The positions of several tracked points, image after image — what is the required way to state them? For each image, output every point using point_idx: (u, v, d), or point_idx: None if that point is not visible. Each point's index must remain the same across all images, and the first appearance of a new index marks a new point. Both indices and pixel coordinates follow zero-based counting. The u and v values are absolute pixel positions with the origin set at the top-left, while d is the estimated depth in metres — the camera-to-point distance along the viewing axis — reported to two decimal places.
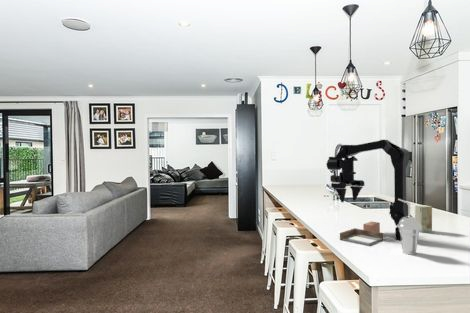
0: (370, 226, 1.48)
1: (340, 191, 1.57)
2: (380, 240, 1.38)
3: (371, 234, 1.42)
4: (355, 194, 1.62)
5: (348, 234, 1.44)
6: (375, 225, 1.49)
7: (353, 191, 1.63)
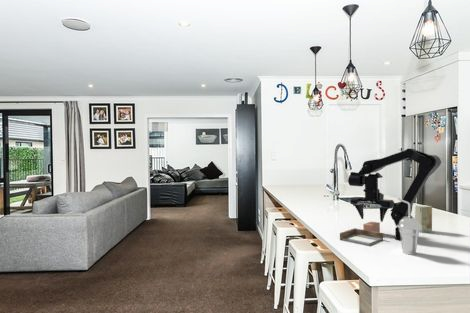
0: (370, 226, 1.48)
1: None
2: (380, 240, 1.38)
3: (371, 234, 1.42)
4: None
5: (348, 234, 1.44)
6: (375, 225, 1.49)
7: None
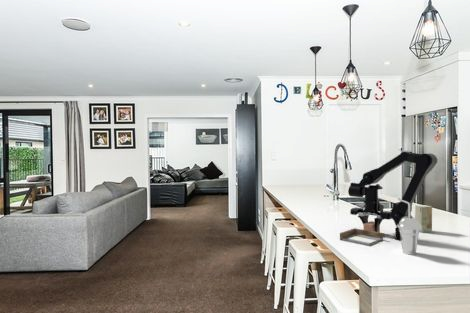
0: (370, 226, 1.48)
1: None
2: (380, 240, 1.38)
3: (371, 234, 1.42)
4: None
5: (348, 234, 1.44)
6: None
7: None
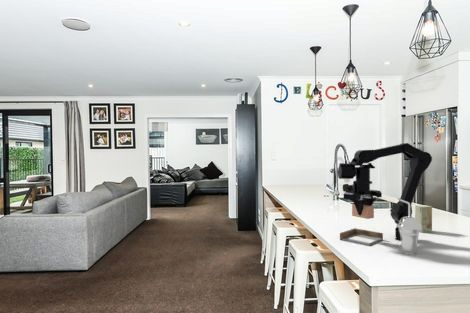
0: (372, 207, 1.37)
1: (357, 202, 1.38)
2: (380, 240, 1.38)
3: (371, 234, 1.42)
4: None
5: (348, 234, 1.44)
6: None
7: (365, 203, 1.42)
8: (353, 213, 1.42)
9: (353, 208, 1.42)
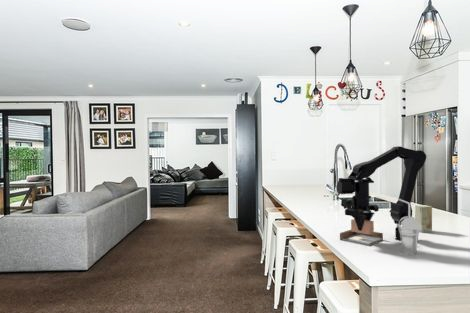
0: (372, 222, 1.36)
1: (358, 218, 1.36)
2: (380, 240, 1.38)
3: (371, 234, 1.42)
4: None
5: (348, 234, 1.44)
6: None
7: None
8: (352, 228, 1.39)
9: (353, 224, 1.39)
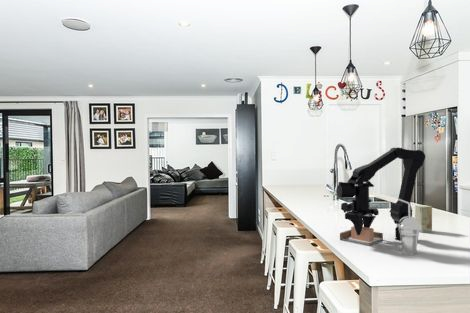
0: (372, 230, 1.36)
1: (356, 222, 1.35)
2: (380, 240, 1.38)
3: None
4: (367, 225, 1.40)
5: (348, 234, 1.44)
6: None
7: (365, 221, 1.41)
8: (352, 236, 1.39)
9: (353, 231, 1.39)
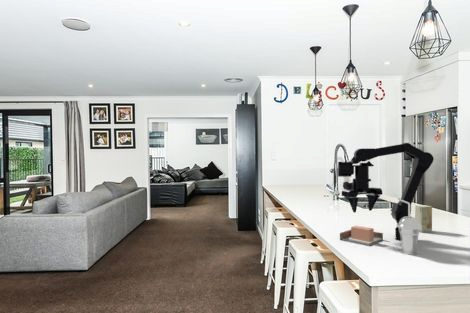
0: (372, 230, 1.36)
1: (352, 200, 1.41)
2: (380, 240, 1.38)
3: None
4: (371, 203, 1.44)
5: (348, 234, 1.44)
6: None
7: (369, 200, 1.46)
8: (352, 236, 1.39)
9: (353, 231, 1.39)
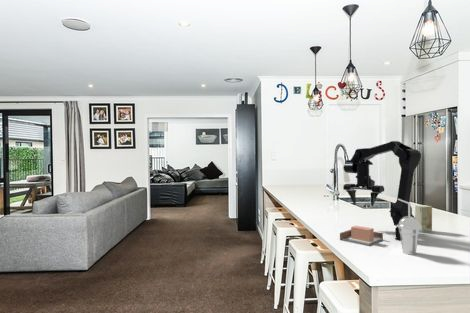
0: (372, 230, 1.36)
1: None
2: (380, 240, 1.38)
3: None
4: None
5: (348, 234, 1.44)
6: None
7: None
8: (352, 236, 1.39)
9: (353, 231, 1.39)
